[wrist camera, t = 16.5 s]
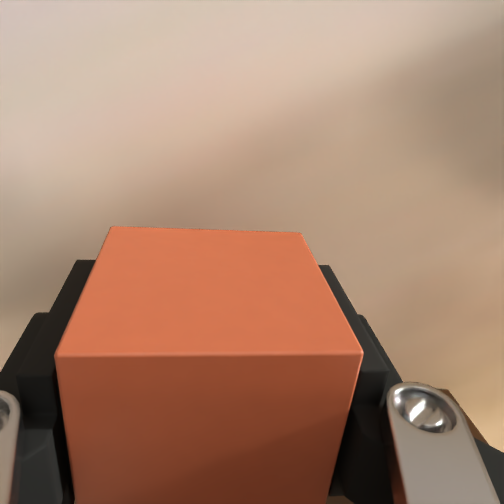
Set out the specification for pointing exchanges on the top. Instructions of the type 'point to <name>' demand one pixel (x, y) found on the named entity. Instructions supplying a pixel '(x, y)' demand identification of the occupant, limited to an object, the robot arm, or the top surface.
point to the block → (205, 371)
